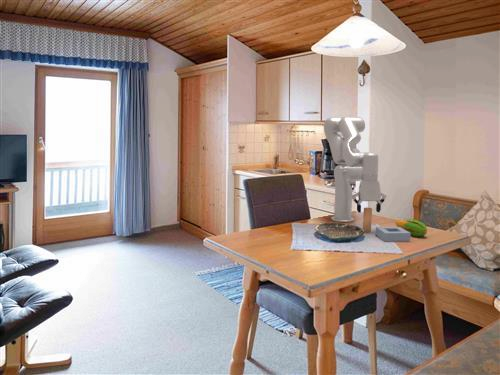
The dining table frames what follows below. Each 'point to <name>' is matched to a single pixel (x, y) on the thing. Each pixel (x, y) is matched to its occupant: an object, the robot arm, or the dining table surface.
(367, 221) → the peg
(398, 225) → the corn
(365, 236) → the dining table surface
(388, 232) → the socket block
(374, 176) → the robot arm
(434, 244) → the dining table surface
